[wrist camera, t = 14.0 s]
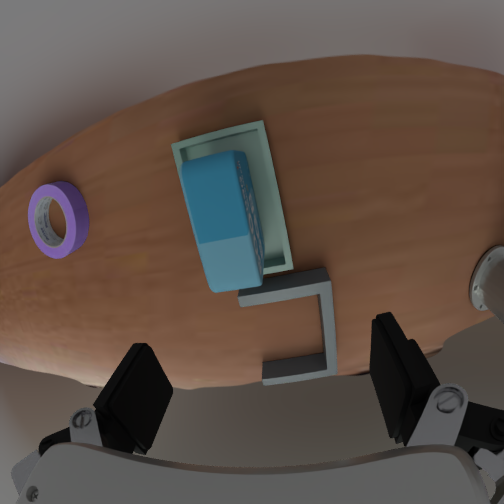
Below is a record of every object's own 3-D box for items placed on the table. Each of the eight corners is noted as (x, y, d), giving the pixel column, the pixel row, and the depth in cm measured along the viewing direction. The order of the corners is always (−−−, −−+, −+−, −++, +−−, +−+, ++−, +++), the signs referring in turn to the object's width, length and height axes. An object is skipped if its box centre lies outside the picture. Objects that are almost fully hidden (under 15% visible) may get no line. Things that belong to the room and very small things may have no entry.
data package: (265, 246, 34) (262, 292, 23) (230, 252, 35) (212, 299, 24) (245, 151, 30) (231, 148, 19) (208, 159, 31) (175, 163, 20)
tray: (263, 123, 30) (262, 120, 27) (291, 259, 35) (293, 269, 32) (179, 144, 31) (171, 144, 28) (213, 273, 37) (209, 283, 34)
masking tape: (65, 165, 33) (49, 168, 29) (102, 224, 36) (87, 231, 32) (34, 210, 36) (20, 216, 32) (66, 262, 38) (53, 271, 35)
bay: (324, 267, 35) (330, 280, 32) (333, 357, 41) (337, 374, 37) (240, 282, 37) (237, 297, 33) (264, 368, 42) (263, 385, 39)
